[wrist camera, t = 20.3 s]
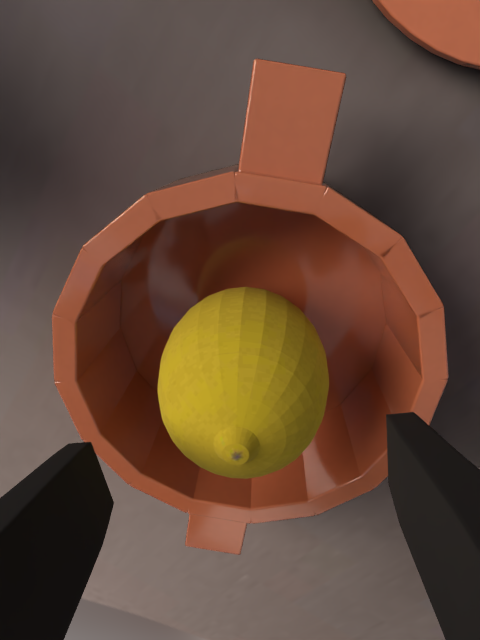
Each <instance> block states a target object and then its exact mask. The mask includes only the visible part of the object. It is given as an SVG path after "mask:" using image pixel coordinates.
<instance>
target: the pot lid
mask: <svg viewBox="0 0 480 640" xmlns="http://www.w3.org/2000/svg"><path fill="white" fill-rule="evenodd" d="M372 1H373V2H374V3H375V5H376V6H377V7H378V8H379V9H380V11H381V12H382V13H383V14H384V16H385V17H386V18H387V19H388V20H389V21H390V22H391V23H392V24H393V25H394V26H396V27H397V28H398V29H399V30H400V31H401V32H402V33H403V34H405V35H406V36H407V37H408V38H409V39H411V40H412V41H414V42H415V43H417V44H418V45H420V46H422V47H423V48H425V49H426V50H428V51H429V52H431V53H433V54H435V55H437V56H440V57H442V58H444V59H447V60H449V61H451V62H454V63H456V64H459V65H463V66H467V67H471V68H475V69H479V70H480V0H372Z"/></svg>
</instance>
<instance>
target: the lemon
mask: <svg viewBox="0 0 480 640" xmlns="http://www.w3.org/2000/svg"><path fill="white" fill-rule="evenodd" d="M328 390H329V374H328V367H327V359H326V353H325V350H324V347H323V345H322V343H321V340H320V338H319V336H318V333H317V331H316V329H315V327H314V326H313V324H312V323H311V322H310V321H309V320H308V318H307V317H306V316H305V315H304V313H303V312H302V311H301V310H300V309H299V308H298V307H297V306H295V305H294V304H292V303H291V302H290V301H288V300H287V299H285V298H284V297H283V296H281V295H278V294H275V293H273V292H270V291H268V290H265V289H259V288H252V287H239V288H230V289H226V290H223V291H220V292H217V293H215V294H212V295H209V296H207V297H206V298H204V299H203V300H202V301H200V302H199V303H197V304H196V305H194V306H193V307H191V308H190V309H189V310H188V311H187V313H186V314H185V315H184V316H183V317H182V319H181V320H180V321H179V322H178V323H177V325H176V326H175V327H174V329H173V331H172V332H171V335H170V337H169V339H168V341H167V344H166V346H165V348H164V351H163V353H162V357H161V362H160V370H159V378H158V399H159V405H160V411H161V416H162V420H163V423H164V425H165V427H166V429H167V431H168V433H169V435H170V437H171V439H172V441H173V442H174V443H175V445H176V446H177V447H178V448H179V449H180V451H181V452H182V453H183V454H184V455H185V456H186V457H187V458H189V459H190V460H191V461H193V462H194V463H195V464H197V465H198V466H199V467H201V468H203V469H205V470H207V471H210V472H212V473H214V474H217V475H221V476H225V477H229V478H244V479H248V478H254V477H260V476H264V475H267V474H270V473H272V472H275V471H278V470H280V469H282V468H284V467H285V466H287V465H288V464H290V463H291V462H293V461H294V460H296V459H297V458H298V457H299V456H300V455H301V453H302V452H303V451H304V450H305V449H306V448H307V447H308V446H309V444H310V443H311V442H312V440H313V438H314V436H315V434H316V432H317V430H318V428H319V426H320V424H321V422H322V419H323V416H324V412H325V407H326V402H327V396H328Z"/></svg>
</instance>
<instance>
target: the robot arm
mask: <svg viewBox="0 0 480 640" xmlns="http://www.w3.org/2000/svg"><path fill="white" fill-rule="evenodd" d="M386 429H387V457H388V483H389V487H390V491H391V494H392V498H393V502H394V505H395V509H396V512H397V516H398V519H399V523H400V526H401V529H402V531H403V534H404V537H405V539H406V542H407V544H408V547H409V549H410V552H411V554H412V557H413V559H414V562H415V564H416V567H417V569H418V572H419V574H420V577H421V579H422V582H423V584H424V587H425V589H426V592H427V594H428V597H429V599H430V602H431V604H432V607H433V609H434V612H435V614H436V616H437V619H438V621H439V624H440V626H441V629H442V631H443V634H444V637H445V639H446V640H480V470H479V469H478V468H477V467H476V466H474V465H473V464H472V463H471V462H470V461H468V460H467V459H466V458H465V457H464V456H463V455H461V454H460V453H459V452H458V451H457V450H456V449H455V448H453V447H452V446H451V445H450V444H449V443H448V442H447V441H446V440H444V439H443V438H442V437H441V436H440V435H439V434H438V433H437V432H436V431H434V430H433V429H432V428H431V427H430V426H429V425H428V424H427V423H426V422H425V421H424V420H422V419H421V418H420V417H419V416H418V415H417V414H415V413H414V412H408V413H397V414H386ZM113 504H114V502H113V499H112V496H111V494H110V491H109V488H108V486H107V483H106V480H105V478H104V475H103V472H102V470H101V467H100V464H99V461H98V459H97V456H96V453H95V451H94V448H93V445H92V443H91V442H83V443H72V444H68V445H66V446H65V447H63V448H62V449H61V450H59V451H58V452H57V453H55V454H54V455H53V456H51V457H50V458H49V459H48V460H46V461H45V462H44V463H43V464H41V465H40V466H39V467H38V468H37V469H35V470H34V471H33V472H32V473H30V474H29V475H28V476H27V477H26V478H24V479H23V480H22V481H21V482H20V483H18V484H17V485H16V486H15V487H13V488H12V489H11V490H10V491H9V492H7V493H6V494H5V495H4V496H2V497H1V498H0V640H64V638H65V635H66V633H67V630H68V628H69V625H70V623H71V621H72V618H73V616H74V613H75V611H76V609H77V606H78V603H79V601H80V599H81V596H82V594H83V592H84V589H85V587H86V584H87V582H88V580H89V577H90V575H91V572H92V570H93V567H94V565H95V562H96V560H97V557H98V555H99V552H100V550H101V547H102V545H103V541H104V538H105V534H106V531H107V527H108V524H109V520H110V516H111V512H112V508H113Z"/></svg>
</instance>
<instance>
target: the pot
mask: <svg viewBox="0 0 480 640" xmlns="http://www.w3.org/2000/svg"><path fill="white" fill-rule="evenodd" d="M345 80H346V74H345V73H341V72H335V71H329V70H323V69H317V68H311V67H305V66H299V65H293V64H287V63H281V62H275V61H269V60H263V59H255V60H254V62H253V68H252V76H251V83H250V90H249V97H248V104H247V111H246V118H245V125H244V132H243V139H242V146H241V153H240V160H239V164H236V165H232V166H228V167H225V168H221V169H216V170H211V171H208V172H205V173H201V174H198V175H194V176H190V177H186V178H182V179H179V180H176V181H174V182H172V183H170V184H167V185H165V186H163V187H160V188H158V189H156V190H154V191H151V192H149V193H147V194H145V195H143V196H142V197H141V198H140V199H139V200H137V201H136V202H135V203H134V204H133V205H131V206H130V207H129V208H128V209H126V210H125V211H124V212H123V213H122V214H120V215H119V216H118V217H117V218H116V219H114V220H113V221H112V222H111V223H109V224H108V225H107V226H106V227H105V228H103V229H102V230H101V231H100V232H99V233H97V234H96V235H95V236H94V237H92V238H91V239H90V240H89V241H88V242H86V243H85V244H84V245H83V247H82V248H81V250H80V252H79V254H78V257H77V259H76V261H75V263H74V265H73V268H72V270H71V272H70V274H69V277H68V279H67V281H66V283H65V285H64V288H63V290H62V292H61V294H60V297H59V299H58V301H57V303H56V305H55V308H54V310H53V315H52V331H53V361H54V381H55V385H56V387H57V389H58V391H59V393H60V395H61V397H62V399H63V402H64V404H65V406H66V408H67V410H68V412H69V414H70V416H71V418H72V420H73V422H74V424H75V427H76V429H77V431H78V433H79V435H80V437H81V439H82V440H83V441H84V442H91V443H92V445H93V448H94V451H95V453H96V454H97V455H98V456H99V457H100V458H101V459H102V460H103V461H104V462H105V463H106V464H107V465H108V466H109V467H110V468H111V469H112V470H113V471H114V472H116V473H117V474H118V475H119V476H120V477H121V478H122V479H123V480H124V481H125V482H126V483H127V484H130V486H131V487H133V488H136V489H138V490H140V491H142V492H144V493H146V494H148V495H150V496H152V497H154V498H156V499H158V500H160V501H162V502H164V503H167V504H169V505H171V506H173V507H175V508H177V509H179V510H181V511H183V512H185V513H187V512H188V513H189V520H188V527H187V535H186V542H185V545H186V546H188V547H195V548H201V549H207V550H213V551H219V552H225V553H231V554H238V555H240V554H241V550H242V545H243V541H244V536H245V532H246V527H247V523H248V524H250V523H252V524H255V523H263V522H271V521H278V520H286V519H294V518H302V517H310V516H315V515H319V514H321V513H323V512H325V511H327V510H330V509H332V508H334V507H336V506H338V505H341V504H343V503H345V502H347V501H349V500H351V499H354V498H356V497H358V496H360V495H362V494H364V493H367V492H369V491H371V490H373V489H374V488H376V487H377V486H378V485H379V484H380V483H381V482H382V481H384V480H385V479H386V478H387V477H388V457H387V429H386V414H397V413H408V412H414V413H415V414H417V415H418V416H419V417H420V418H421V419H422V420H424V421H425V422H426V423H427V424H428V425H430V423H431V420H432V418H433V415H434V413H435V410H436V408H437V406H438V403H439V401H440V398H441V396H442V394H443V391H444V389H445V386H446V384H447V379H448V377H449V376H448V360H447V344H446V328H445V312H444V307H443V306H444V305H443V303H442V301H441V300H440V298H439V296H438V294H437V293H436V291H435V289H434V288H433V286H432V284H431V283H430V281H429V279H428V278H427V276H426V274H425V272H424V271H423V269H422V267H421V266H420V264H419V262H418V261H417V259H416V257H415V256H414V254H413V252H412V251H411V249H410V247H409V245H408V244H407V242H406V240H405V239H404V237H402V235H401V234H399V233H398V232H396V231H395V230H394V229H392V228H391V227H389V226H388V225H387V224H385V223H384V222H382V221H381V220H380V219H378V218H377V217H375V216H374V215H372V214H371V213H370V212H368V211H367V210H365V209H364V208H362V207H361V206H359V205H358V204H356V203H355V202H353V201H352V200H350V199H349V198H347V197H346V196H344V195H343V194H341V193H340V192H338V191H337V190H335V189H334V188H332V187H331V186H329V185H328V184H326V183H325V182H323V180H324V175H325V170H326V166H327V161H328V157H329V152H330V148H331V143H332V139H333V134H334V130H335V125H336V121H337V116H338V112H339V107H340V103H341V98H342V94H343V89H344V85H345ZM239 287H252V288H259V289H265V290H268V291H270V292H273V293H275V294H278V295H281V296H283V297H284V298H285V299H287V300H288V301H290V302H291V303H292V304H294V305H295V306H297V307H298V308H299V309H300V310H301V311H302V312H303V313H304V315H305V316H306V317H307V318H308V320H309V321H310V322H311V323H312V324H313V326H314V327H315V329H316V331H317V333H318V336H319V338H320V340H321V343H322V345H323V347H324V350H325V353H326V359H327V367H328V374H329V390H328V396H327V402H326V407H325V412H324V416H323V419H322V422H321V424H320V426H319V428H318V430H317V432H316V434H315V436H314V438H313V440H312V442H311V443H310V444H309V446H308V447H307V448H306V449H305V450H304V451H303V452H302V453H301V455H300V456H299V457H298V458H297V459H296V460H294V461H293V462H291V463H290V464H288V465H287V466H285V467H284V468H282V469H280V470H278V471H275V472H272V473H270V474H267V475H264V476H260V477H254V478H248V479H244V478H229V477H225V476H221V475H217V474H214V473H212V472H210V471H207V470H205V469H203V468H201V467H199V466H198V465H197V464H195V463H194V462H193V461H191V460H190V459H189V458H187V457H186V456H185V455H184V454H183V453H182V452H181V451H180V449H179V448H178V447H177V446H176V445H175V443H174V442H173V441H172V439H171V437H170V435H169V433H168V431H167V429H166V427H165V425H164V423H163V420H162V416H161V411H160V405H159V399H158V378H159V370H160V362H161V357H162V353H163V351H164V348H165V346H166V344H167V341H168V339H169V337H170V335H171V332H172V331H173V329H174V327H175V326H176V325H177V323H178V322H179V321H180V320H181V319H182V317H183V316H184V315H185V314H186V313H187V311H188V310H189V309H190V308H191V307H193V306H194V305H196V304H197V303H199V302H200V301H202V300H203V299H204V298H206V297H207V296H209V295H212V294H215V293H217V292H220V291H223V290H226V289H230V288H239Z"/></svg>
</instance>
